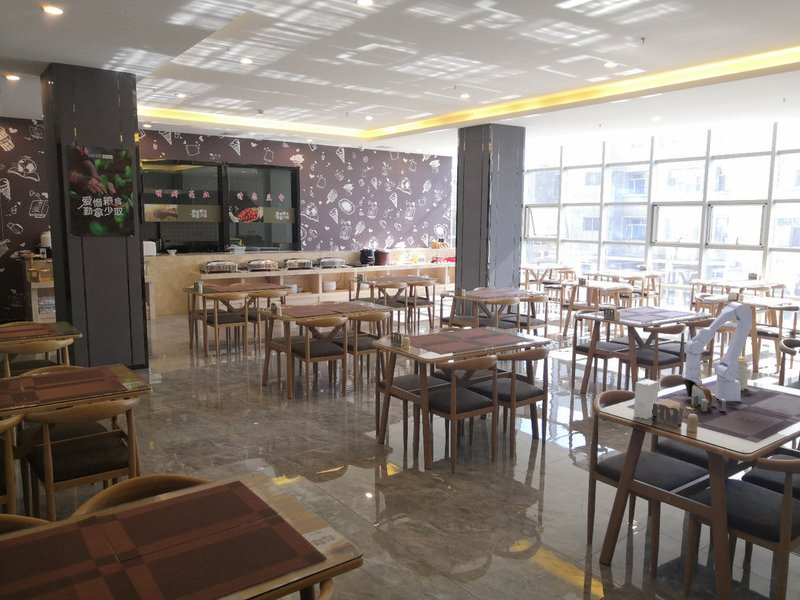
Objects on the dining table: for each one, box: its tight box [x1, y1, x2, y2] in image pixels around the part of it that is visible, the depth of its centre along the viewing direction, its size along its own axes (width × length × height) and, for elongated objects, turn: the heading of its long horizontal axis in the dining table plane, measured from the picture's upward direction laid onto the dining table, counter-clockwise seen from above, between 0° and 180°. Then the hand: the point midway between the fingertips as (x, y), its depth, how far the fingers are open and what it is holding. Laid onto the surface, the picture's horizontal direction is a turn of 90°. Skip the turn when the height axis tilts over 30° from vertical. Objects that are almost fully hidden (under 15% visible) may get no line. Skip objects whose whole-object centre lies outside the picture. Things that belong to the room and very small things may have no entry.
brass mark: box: [685, 406, 697, 411], centre depth 267 cm, size 4×4×1 cm
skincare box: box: [633, 378, 660, 420], centre depth 254 cm, size 8×6×15 cm
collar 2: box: [700, 399, 727, 413], centre depth 263 cm, size 10×2×5 cm, turn 92°
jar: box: [720, 355, 750, 391], centre depth 301 cm, size 13×13×18 cm
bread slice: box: [692, 384, 712, 408], centre depth 272 cm, size 15×3×8 cm, turn 178°
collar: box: [690, 393, 717, 407], centre depth 271 cm, size 10×2×5 cm, turn 92°
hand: (690, 396), depth 282 cm, fingers closed
